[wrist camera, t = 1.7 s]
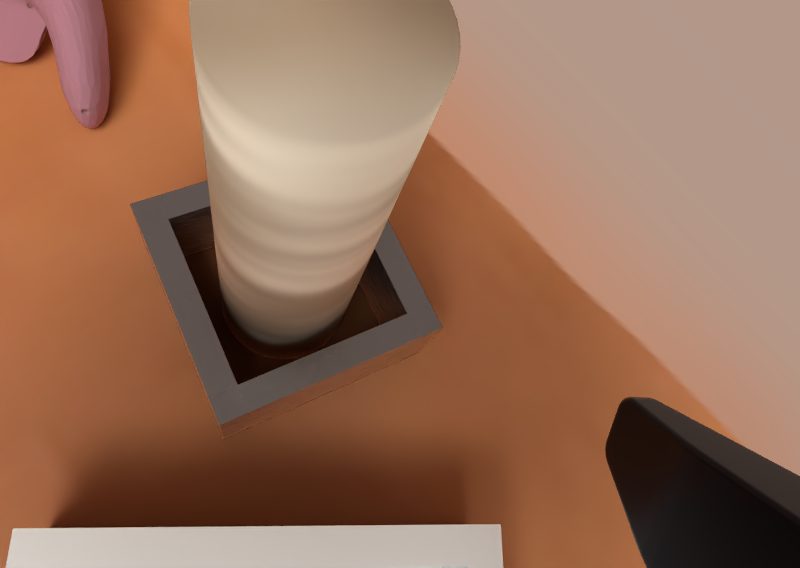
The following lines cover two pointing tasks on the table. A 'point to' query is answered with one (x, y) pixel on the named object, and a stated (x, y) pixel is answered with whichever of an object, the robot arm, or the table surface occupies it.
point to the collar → (306, 377)
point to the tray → (259, 547)
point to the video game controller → (63, 48)
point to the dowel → (310, 148)
